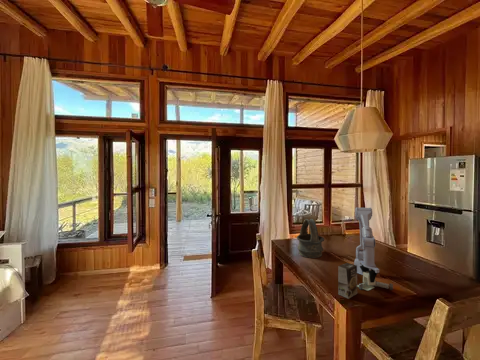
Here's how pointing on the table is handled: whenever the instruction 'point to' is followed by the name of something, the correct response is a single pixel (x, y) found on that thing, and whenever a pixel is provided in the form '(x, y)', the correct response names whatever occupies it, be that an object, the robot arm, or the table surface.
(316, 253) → the basket with handle
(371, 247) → the robot arm
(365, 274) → the u block
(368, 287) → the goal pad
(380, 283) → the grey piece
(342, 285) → the coffee box
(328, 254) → the table surface
